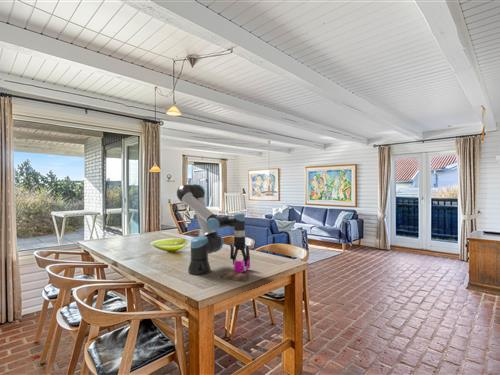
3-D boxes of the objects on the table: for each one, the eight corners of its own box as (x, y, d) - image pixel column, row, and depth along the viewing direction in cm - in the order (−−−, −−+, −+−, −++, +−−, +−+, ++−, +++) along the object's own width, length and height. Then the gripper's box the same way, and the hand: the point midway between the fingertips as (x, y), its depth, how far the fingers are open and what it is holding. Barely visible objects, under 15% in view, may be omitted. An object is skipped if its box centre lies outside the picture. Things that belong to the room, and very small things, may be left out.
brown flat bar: (220, 277, 176) (220, 274, 176) (225, 274, 183) (225, 270, 183) (244, 281, 169) (244, 277, 169) (248, 278, 176) (248, 274, 176)
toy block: (242, 266, 197) (242, 256, 197) (250, 267, 194) (249, 256, 194) (231, 272, 183) (231, 261, 183) (239, 273, 180) (239, 262, 180)
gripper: (224, 236, 188) (225, 270, 188) (250, 238, 180) (250, 273, 180) (229, 234, 195) (230, 267, 195) (254, 236, 187) (255, 270, 187)
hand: (240, 270), depth 187 cm, fingers closed on toy block, 6 cm apart
